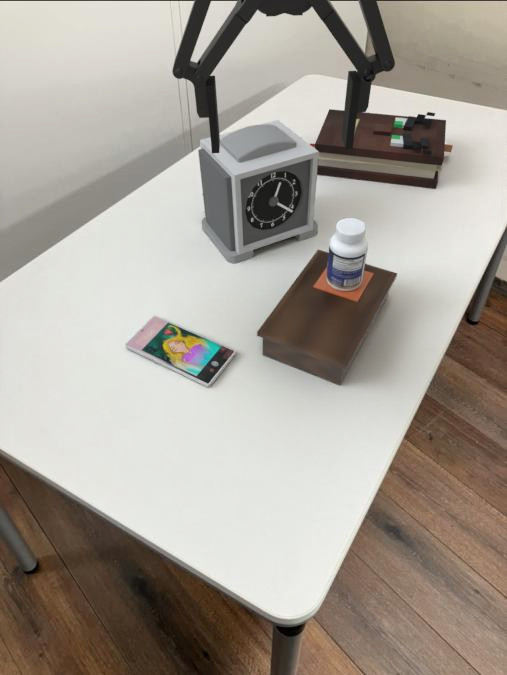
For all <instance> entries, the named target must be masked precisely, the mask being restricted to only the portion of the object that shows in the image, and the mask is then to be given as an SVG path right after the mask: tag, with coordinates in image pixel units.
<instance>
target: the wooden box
mask: <svg viewBox="0 0 507 675" xmlns="http://www.w3.org/2000/svg"><path fill="white" fill-rule="evenodd" d="M328 255H329V251H328V252H327V251H324V250H321V249H317V250H316V251H315V253H314V254H313V256H312V257H311V259H310V260H309V261H308V263H307V264H306V265H305V266H304V268H302V271H301V272H300V273H299V275H298V276H297V277H296V279H295V280H294V282H293V283H292V284H291V285H290V286H289V288H288V289H287V291H286V292H285V293H284V295H283V296H282V298H281V299H280V300H279V302H278V303H277V304H276V306H275V307H274V308H273V310H272V311H271V313H270V314H269V315H268V316H267V317H266V319H265V320H264V322H263V323H262V325H261V326H260V327H259V329H258V330H257V332H256V336H257V337H259V338H262V356H264V357H267V358H269V359H271V360H274V361H277V362H279V363H282V364H284V365H287V366H289V367H292V368H295V369H297V370H300V371H302V372H304V373H307V374H310V375H313V376H314V377H317V378H319V379H323V380H325V381H326V382H327V381H328V382H329V383H332V384H335V385H337V386H341V384H342V383H343V381H344V379H345V377H346V375H347V374H348V371H349V370H350V368H351V366H352V364H353V362H354V361H355V358H356V357H357V355H358V353H359V351H360V349H361V347H362V345H363V344H364V342H365V340H366V338H367V337H368V334H369V333H370V330H371V329H372V327H373V325H374V323H375V321H376V320H377V318H378V316H379V314H380V312H381V310H382V308H383V306H384V305H385V303H386V301H387V299H388V296H389V292H390V290H391V288H392V286H393V284H394V283H395V281H396V280H397V276H398V273H397V272H394V271H391V270H387V269H384V268H381V267H377V266H374V265H371V264H367V263H365V268H364V274H363V279H362V283H361V285H360V286H359V287H358V288H356V289H355V290H351V291H340V290H337V289H334V288H333V287H331V286H330V285H329V284H328V282H327V265H328Z"/></svg>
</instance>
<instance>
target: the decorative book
mask: <svg viewBox="0 0 507 675" xmlns="http://www.w3.org/2000/svg"><path fill="white" fill-rule="evenodd" d="M435 115H436V112H431V111H428V112H427V111H426V114H421V113H418V114H417V116H412V115H408V116H407V115H395V114H385V113H373V112H357V117H356V126H355V134H354V142H353V149H345V146H344V143H343V140H342V128H343V118H344V110H341V109H331V108H330V109H328V111H327V114H326V115H325V118H324V121H323V122H322V125H321V128H320V131H319V133H318V136H317V138H316V139H315V143H309V144H310V145H311V146H312V147H314V148H315V149H316V150H317V151H319V154H318V167H317V176H325V177H333V178H343V179H350V180H358V181H366V182H367V181H368V182H375V183H383V184H392V185H401V186H408V187H415V188H416V187H418V188H425V189H433V190H436V189H437V186H438V182H439V172H442V166H443V164H444V160H445V152H446V153H452V150H453V144H446V129H447V120H446V119H439V118H429V117H428V118H427V116H430V117H435Z"/></svg>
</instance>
